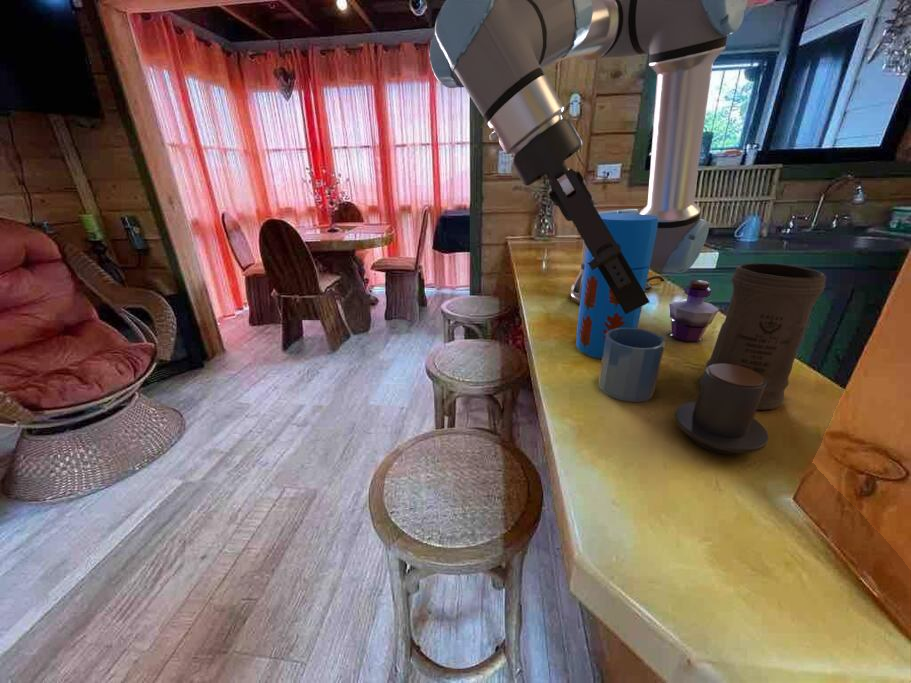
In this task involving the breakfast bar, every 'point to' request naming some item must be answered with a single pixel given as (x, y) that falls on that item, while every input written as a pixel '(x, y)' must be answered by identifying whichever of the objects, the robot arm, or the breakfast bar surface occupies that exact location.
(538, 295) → the breakfast bar surface
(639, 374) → the cup
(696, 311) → the potion bottle
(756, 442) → the dripper
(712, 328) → the breakfast bar surface
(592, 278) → the thermos
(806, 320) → the beer stein
